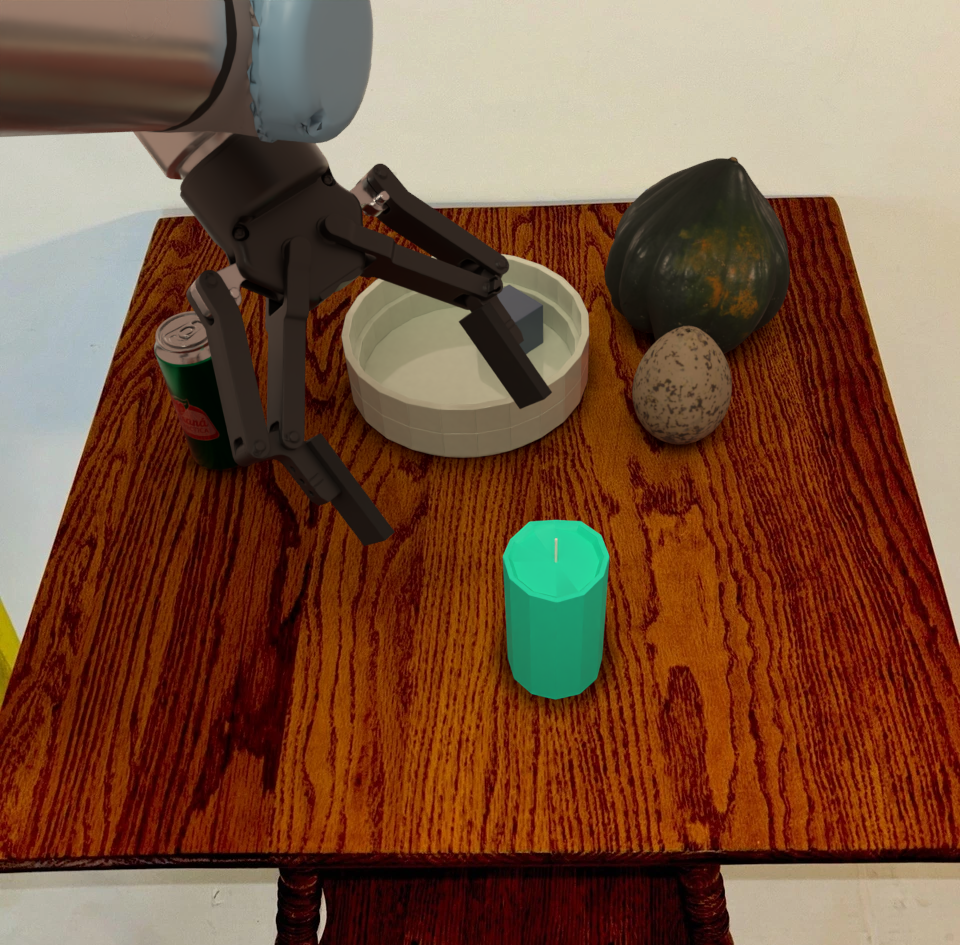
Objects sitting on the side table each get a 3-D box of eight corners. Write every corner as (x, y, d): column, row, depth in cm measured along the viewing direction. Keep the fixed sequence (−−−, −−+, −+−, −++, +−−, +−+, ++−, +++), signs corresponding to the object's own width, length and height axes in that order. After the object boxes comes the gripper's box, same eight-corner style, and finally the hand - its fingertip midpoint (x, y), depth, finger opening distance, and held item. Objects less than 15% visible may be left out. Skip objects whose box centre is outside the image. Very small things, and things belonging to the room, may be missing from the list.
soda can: (180, 455, 80) (134, 335, 71) (229, 419, 83) (192, 298, 74) (222, 485, 78) (180, 364, 69) (272, 446, 80) (238, 325, 71)
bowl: (458, 501, 75) (453, 449, 71) (305, 377, 86) (293, 325, 82) (636, 376, 84) (640, 323, 80) (477, 276, 94) (474, 224, 90)
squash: (584, 334, 79) (732, 193, 71) (565, 229, 90) (692, 97, 82) (709, 417, 86) (858, 297, 78) (678, 310, 96) (806, 195, 88)
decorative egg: (636, 394, 82) (645, 293, 75) (728, 407, 81) (746, 304, 74) (622, 458, 78) (629, 356, 70) (718, 472, 76) (737, 370, 69)
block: (509, 365, 84) (507, 327, 82) (476, 343, 87) (473, 305, 84) (543, 342, 86) (543, 304, 83) (510, 321, 88) (509, 283, 85)
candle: (618, 643, 67) (629, 523, 58) (573, 715, 63) (578, 599, 54) (537, 605, 69) (535, 484, 60) (490, 672, 66) (481, 554, 57)
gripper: (366, 88, 64) (557, 367, 68) (19, 284, 52) (277, 611, 56) (422, 24, 58) (628, 335, 62) (41, 229, 46) (330, 603, 50)
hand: (462, 466), depth 59 cm, fingers open, 13 cm apart
